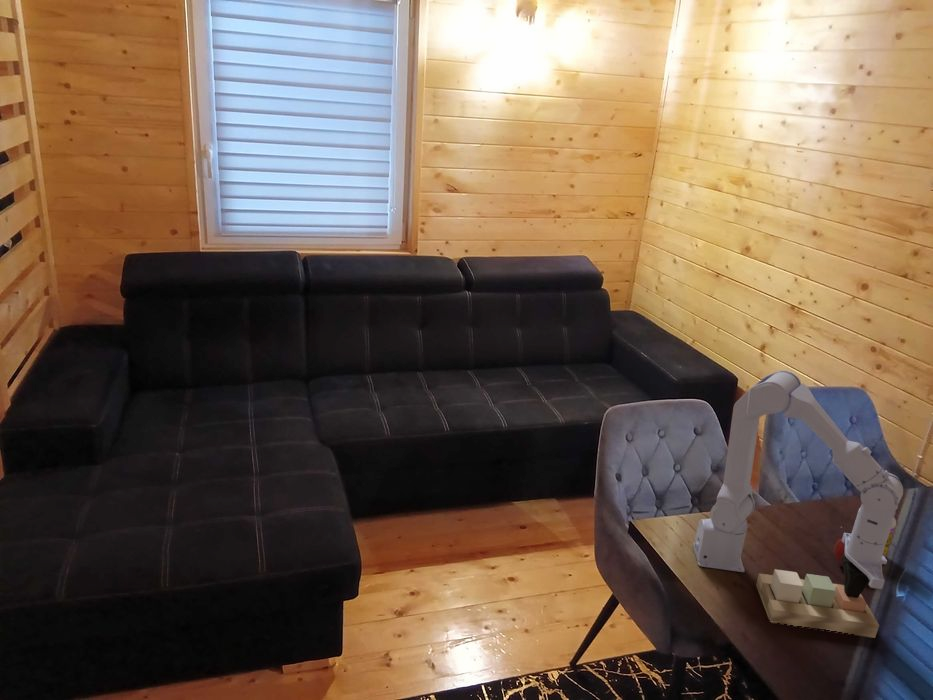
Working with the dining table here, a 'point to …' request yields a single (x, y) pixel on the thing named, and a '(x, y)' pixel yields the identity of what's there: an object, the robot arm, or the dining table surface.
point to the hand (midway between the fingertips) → (851, 595)
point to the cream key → (786, 586)
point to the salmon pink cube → (849, 601)
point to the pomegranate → (839, 550)
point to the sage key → (818, 590)
